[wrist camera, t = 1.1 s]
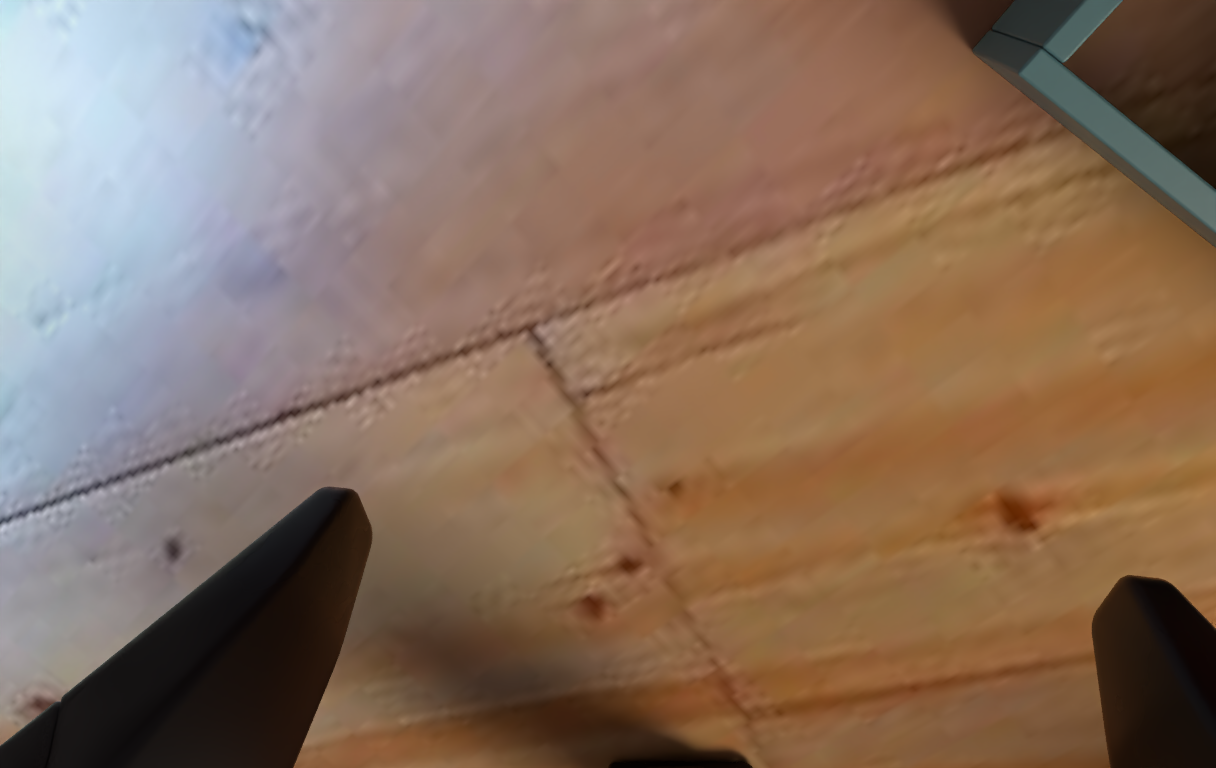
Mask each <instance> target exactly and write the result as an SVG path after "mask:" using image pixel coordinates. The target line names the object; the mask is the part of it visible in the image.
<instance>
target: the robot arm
mask: <svg viewBox="0 0 1216 768" xmlns="http://www.w3.org/2000/svg"><path fill="white" fill-rule="evenodd" d="M371 544H372V527H371V524H370V522H369V519H368V517H367V515H366V512H365V510H364V507H363V505H362V503H361V500H360V498H359V496H358V494H357V493H356V492H355V491H354V490H352V489H346V488H337V487H324V488H321V489H319V490H318V491H316V492H315V493H314V494H312V495H311V496H310V497H309V498H308V499H306V500H305V501H304V502H303V503H301V504H300V505H299V506H298V507H296V508H295V509H294V510H293V511H291V512H290V513H289V514H288V515H286V516H285V517H284V518H283V519H282V520H280V521H279V522H278V523H277V524H275V525H274V526H273V527H272V528H270V529H269V530H268V531H267V532H265V533H264V534H263V535H262V536H260V537H259V538H258V539H257V540H256V541H254V542H253V543H252V544H251V545H249V546H248V547H247V548H246V549H244V550H243V551H242V552H241V553H239V554H238V555H237V556H236V557H234V558H233V559H232V560H231V561H230V562H228V563H227V564H226V565H225V566H223V567H222V568H221V569H220V570H218V571H217V572H216V573H215V574H213V575H212V576H211V577H210V578H208V579H207V580H206V581H205V582H204V583H202V584H201V585H200V586H199V587H197V588H196V589H195V590H194V591H192V592H191V593H190V594H189V595H187V596H186V597H185V598H184V599H183V600H181V601H180V602H179V603H178V604H176V605H175V606H174V607H173V608H171V609H170V610H169V611H168V612H166V613H165V614H164V615H163V616H161V617H160V618H159V619H158V620H157V621H155V622H154V623H153V624H152V625H150V626H149V627H148V628H147V629H145V630H144V631H143V632H142V633H140V634H139V635H138V636H137V637H135V638H134V639H133V640H132V641H131V642H129V643H128V644H127V645H126V646H124V647H123V648H122V649H121V650H119V651H118V652H117V653H116V654H114V655H113V656H112V657H111V658H109V659H108V660H107V661H106V662H105V663H103V664H102V665H101V666H100V667H98V668H97V669H96V670H95V671H93V672H92V673H91V674H90V675H88V676H87V677H86V678H85V679H83V680H82V681H81V682H80V683H79V684H77V685H76V686H75V687H74V688H72V689H71V690H70V691H69V692H67V693H66V694H65V695H64V696H63V697H62V699H61V702H55V703H53V704H52V705H51V706H50V707H48V708H47V709H46V710H45V711H44V712H42V713H41V714H40V715H39V716H37V717H36V718H35V719H34V720H32V721H31V722H30V723H29V724H27V725H26V726H25V727H24V728H22V729H21V730H20V731H19V732H17V733H16V734H15V735H13V736H12V737H11V738H10V739H8V740H7V741H6V742H4V743H3V744H2V745H1V746H0V768H293V767H294V765H295V762H296V760H297V757H298V755H299V753H300V750H301V748H302V745H303V743H304V740H305V738H306V736H307V733H308V731H309V728H310V726H311V723H312V721H313V718H314V716H315V714H316V711H317V709H318V706H319V704H320V701H321V699H322V696H323V694H324V692H325V689H326V687H327V684H328V682H329V679H330V677H331V675H332V672H333V669H334V667H335V664H336V662H337V659H338V656H339V654H340V651H341V647H342V644H343V641H344V638H345V635H346V631H347V628H348V624H349V621H350V617H351V614H352V610H353V607H354V603H355V600H356V596H357V593H358V590H359V586H360V583H361V579H362V576H363V572H364V569H365V565H366V562H367V558H368V555H369V551H370V548H371ZM1092 638H1093V645H1094V653H1095V660H1096V668H1097V675H1098V683H1099V690H1100V698H1101V705H1102V712H1103V720H1104V727H1105V735H1106V742H1107V749H1108V755H1109V761H1110V767H1111V768H1216V629H1215V627H1214V626H1213V625H1212V624H1211V623H1210V622H1209V621H1208V620H1207V619H1206V618H1205V617H1204V616H1203V615H1202V614H1201V613H1200V612H1199V611H1198V610H1197V609H1196V608H1195V607H1194V606H1193V605H1192V604H1191V603H1190V602H1189V601H1188V600H1187V599H1186V598H1185V597H1184V595H1183V594H1182V593H1181V592H1180V591H1179V590H1178V589H1177V588H1176V587H1175V586H1173V585H1172V584H1171V583H1169V582H1167V581H1165V580H1163V579H1159V578H1150V577H1141V576H1132V575H1127V576H1125V577H1122V578H1120V579H1119V581H1118V582H1117V583H1116V584H1115V586H1114V587H1113V589H1112V590H1111V591H1110V593H1109V594H1108V596H1107V597H1106V598H1105V600H1104V601H1103V602H1102V604H1101V605H1100V607H1099V608H1098V609H1097V611H1096V613H1095V615H1094V618H1093V622H1092ZM608 768H753V767H752V766H751V765H749V764H747V763H745V762H616V763H612V764H610V765H609V767H608Z"/></svg>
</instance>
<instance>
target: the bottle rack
mask: <svg viewBox="0 0 1216 768" xmlns="http://www.w3.org/2000/svg"><path fill="white" fill-rule="evenodd" d="M1122 1H1123V0H1015V1H1014V2H1013V3H1012V4H1011V5H1010V7H1009V8H1008V9H1007V10H1006V11H1005V12H1004V14H1003V15H1002V16H1001V17H1000V18H999V19H998V21H997V22H996V23H995V24H994V25H993V27H992V30H993V31H992V30H990V31H988V32H987V33H986V34H985V36H984V37H983V38H982V39H981V40H980V41H979V43H978V44H977V45H976V46H975V47H974V48H973V53H974V54H975V55H976V56H977V57H979V58H980V59H981V60H982V61H984V62H985V63H986V64H987V65H989V66H990V67H991V68H992V69H994V70H995V71H996V72H997V73H999V74H1000V75H1001V76H1002V77H1004V78H1005V79H1006V80H1007V81H1008V82H1010V83H1011V84H1012V85H1013V86H1015V87H1016V88H1017V89H1018V90H1020V91H1021V92H1022V93H1023V94H1025V95H1026V96H1027V97H1028V98H1030V99H1031V100H1032V101H1033V102H1035V103H1036V104H1037V105H1038V106H1040V107H1041V108H1042V109H1043V110H1045V111H1046V112H1047V113H1048V114H1050V115H1051V116H1052V117H1053V118H1055V119H1056V120H1057V121H1058V122H1060V123H1061V124H1062V125H1063V126H1065V127H1066V128H1067V129H1068V130H1070V131H1071V132H1072V133H1073V134H1075V135H1076V136H1077V137H1078V138H1080V139H1081V140H1082V141H1083V142H1085V143H1086V144H1087V145H1088V146H1090V147H1091V148H1092V149H1093V150H1095V151H1096V152H1097V153H1098V154H1100V155H1101V156H1102V157H1103V158H1105V159H1106V160H1107V161H1108V162H1110V163H1111V164H1112V165H1113V166H1114V167H1116V168H1117V169H1118V170H1119V171H1121V172H1122V173H1123V174H1124V175H1126V176H1127V177H1128V178H1129V179H1131V180H1132V181H1133V182H1134V183H1136V184H1137V185H1138V186H1139V187H1141V188H1142V189H1143V190H1144V191H1146V192H1147V193H1148V194H1149V195H1151V196H1152V197H1153V198H1154V199H1156V200H1157V201H1158V202H1159V203H1161V204H1162V205H1163V206H1164V207H1166V208H1167V209H1168V210H1169V211H1171V212H1172V213H1173V214H1174V215H1176V216H1177V217H1178V218H1179V219H1181V220H1182V221H1183V222H1184V223H1186V224H1187V225H1188V226H1189V227H1191V228H1192V229H1193V230H1194V231H1196V232H1197V233H1198V234H1199V235H1201V236H1202V237H1203V238H1204V239H1206V240H1207V241H1208V242H1209V243H1211V244H1212V245H1213V246H1214V247H1216V189H1215V188H1213V187H1212V186H1211V185H1210V184H1209V183H1207V182H1206V181H1205V180H1204V179H1202V178H1201V177H1200V176H1199V175H1198V174H1196V173H1195V172H1194V171H1193V170H1191V169H1190V168H1189V167H1188V166H1187V165H1185V164H1184V163H1183V162H1182V161H1180V160H1179V159H1178V158H1177V157H1175V156H1174V155H1173V154H1172V153H1171V152H1169V151H1168V150H1167V149H1166V148H1164V147H1163V146H1162V145H1161V144H1160V143H1158V142H1157V141H1156V140H1155V139H1153V138H1152V137H1151V136H1150V135H1149V134H1147V133H1146V132H1145V131H1144V130H1142V129H1141V128H1140V127H1139V126H1138V125H1136V124H1135V123H1134V122H1133V121H1131V120H1130V119H1129V118H1128V117H1127V116H1125V115H1124V114H1123V113H1122V112H1120V111H1119V110H1118V109H1117V108H1116V107H1114V106H1113V105H1112V104H1111V103H1109V102H1108V101H1107V100H1106V99H1104V98H1103V97H1102V96H1101V95H1100V94H1098V93H1097V92H1096V91H1095V90H1093V89H1092V88H1091V87H1090V86H1089V85H1087V84H1086V83H1085V82H1084V81H1082V80H1081V79H1080V78H1079V77H1078V76H1076V75H1075V74H1074V73H1073V72H1071V71H1070V70H1069V69H1068V68H1067V67H1065V66H1064V65H1063V64H1062V63H1064V62H1066V61H1067V60H1068V59H1069V58H1070V57H1071V56H1072V54H1073V53H1074V52H1075V51H1076V50H1077V49H1078V48H1079V47H1080V46H1081V45H1082V44H1083V43H1084V42H1085V41H1086V39H1087V38H1088V37H1089V36H1090V35H1091V34H1092V33H1093V32H1094V31H1095V30H1096V29H1097V28H1098V27H1099V26H1100V24H1101V23H1102V22H1103V21H1104V20H1105V19H1106V18H1107V17H1108V16H1109V15H1110V14H1111V13H1112V12H1113V11H1114V10H1115V8H1116V7H1117V6H1118V5H1119V4H1120V3H1121V2H1122ZM1060 62H1061V63H1060Z"/></svg>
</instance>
